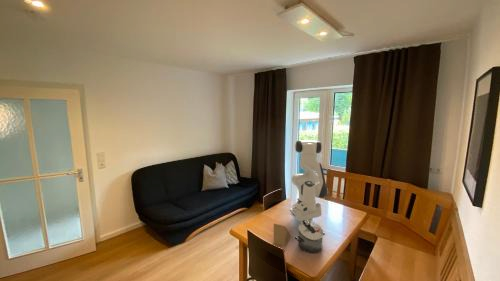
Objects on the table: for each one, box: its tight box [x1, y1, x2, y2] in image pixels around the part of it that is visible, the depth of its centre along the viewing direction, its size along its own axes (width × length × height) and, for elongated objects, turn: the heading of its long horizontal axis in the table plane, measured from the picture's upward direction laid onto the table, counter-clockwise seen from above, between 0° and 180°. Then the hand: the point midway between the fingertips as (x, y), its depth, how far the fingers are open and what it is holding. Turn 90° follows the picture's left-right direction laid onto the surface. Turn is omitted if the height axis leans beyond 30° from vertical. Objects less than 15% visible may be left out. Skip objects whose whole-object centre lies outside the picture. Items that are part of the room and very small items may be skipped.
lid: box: [298, 220, 324, 241], centre depth 144 cm, size 17×17×3 cm
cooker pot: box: [294, 231, 326, 254], centre depth 146 cm, size 16×22×9 cm
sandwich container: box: [273, 223, 292, 247], centre depth 154 cm, size 9×15×15 cm, turn 151°
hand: (308, 224), depth 146 cm, fingers closed, pressing on lid
